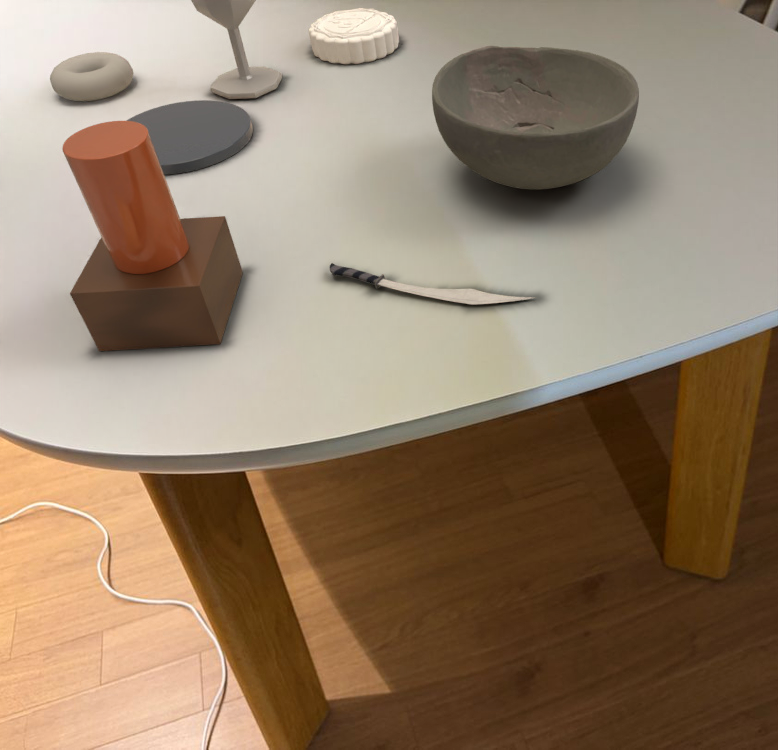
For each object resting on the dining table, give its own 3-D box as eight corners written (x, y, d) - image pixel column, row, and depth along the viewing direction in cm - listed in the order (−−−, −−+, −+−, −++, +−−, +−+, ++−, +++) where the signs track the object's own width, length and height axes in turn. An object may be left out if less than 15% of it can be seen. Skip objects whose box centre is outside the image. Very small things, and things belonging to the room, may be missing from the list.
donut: (72, 76, 108) (44, 107, 100) (62, 50, 106) (32, 80, 98) (146, 72, 108) (123, 103, 100) (138, 46, 106) (113, 76, 98)
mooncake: (344, 26, 117) (340, 1, 114) (415, 37, 113) (412, 11, 110) (295, 57, 109) (289, 30, 107) (369, 70, 105) (365, 42, 103)
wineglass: (237, 69, 107) (190, -110, 93) (294, 76, 105) (255, -107, 90) (199, 97, 101) (142, -90, 87) (259, 104, 99) (210, -86, 84)
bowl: (481, 245, 75) (475, 147, 68) (415, 150, 89) (404, 60, 82) (669, 196, 80) (681, 99, 73) (579, 113, 94) (581, 26, 87)
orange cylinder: (102, 275, 63) (48, 160, 56) (127, 233, 68) (80, 121, 61) (177, 273, 63) (132, 157, 56) (198, 231, 67) (158, 118, 61)
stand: (99, 351, 66) (69, 293, 62) (133, 278, 73) (109, 222, 69) (220, 344, 66) (199, 285, 62) (243, 272, 73) (225, 215, 69)
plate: (91, 179, 87) (87, 169, 86) (133, 113, 98) (130, 103, 98) (239, 170, 87) (236, 160, 86) (263, 105, 99) (261, 96, 98)
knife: (321, 284, 71) (319, 275, 71) (333, 268, 73) (331, 259, 72) (530, 315, 67) (530, 306, 66) (537, 297, 69) (537, 288, 68)
